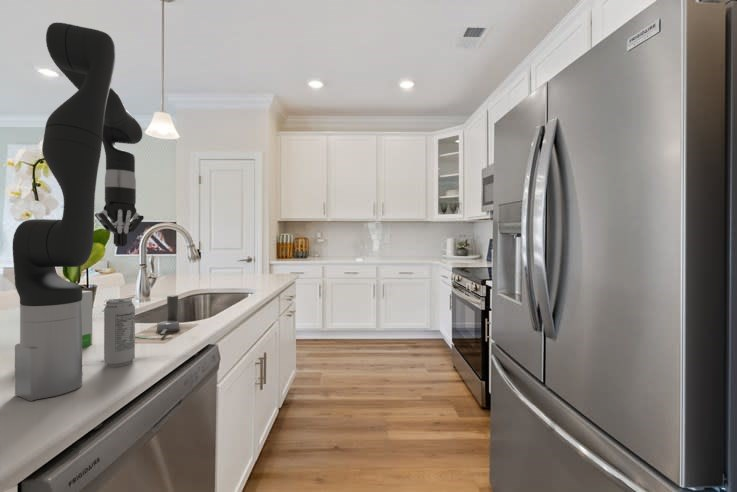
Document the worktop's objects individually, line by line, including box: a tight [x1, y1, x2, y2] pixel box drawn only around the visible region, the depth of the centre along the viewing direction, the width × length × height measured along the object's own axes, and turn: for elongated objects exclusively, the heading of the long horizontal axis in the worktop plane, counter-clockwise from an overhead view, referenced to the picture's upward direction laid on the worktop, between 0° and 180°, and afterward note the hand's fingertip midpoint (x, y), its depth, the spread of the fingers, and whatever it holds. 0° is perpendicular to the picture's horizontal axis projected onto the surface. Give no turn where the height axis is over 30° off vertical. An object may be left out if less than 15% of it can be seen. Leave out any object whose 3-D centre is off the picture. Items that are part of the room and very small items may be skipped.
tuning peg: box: [156, 295, 180, 335], centre depth 113 cm, size 19×6×9 cm, turn 19°
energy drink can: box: [103, 298, 136, 368], centre depth 87 cm, size 6×6×15 cm
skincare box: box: [82, 290, 93, 348], centre depth 95 cm, size 8×7×16 cm
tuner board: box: [135, 323, 199, 344], centre depth 111 cm, size 22×13×1 cm, turn 2°
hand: (120, 246), depth 108 cm, fingers closed
